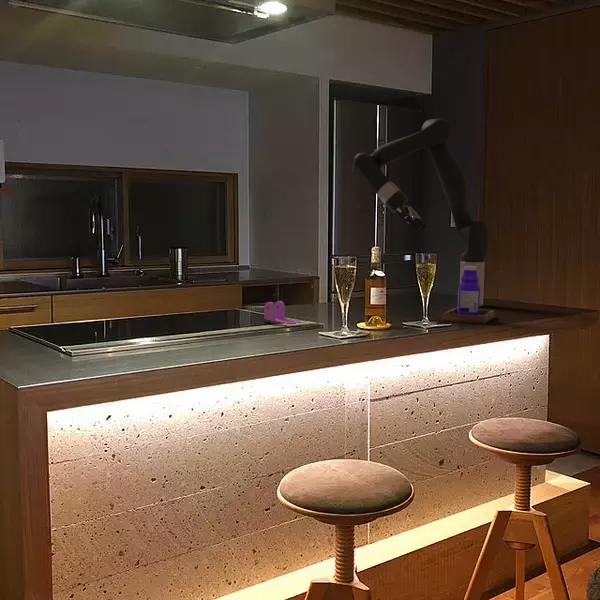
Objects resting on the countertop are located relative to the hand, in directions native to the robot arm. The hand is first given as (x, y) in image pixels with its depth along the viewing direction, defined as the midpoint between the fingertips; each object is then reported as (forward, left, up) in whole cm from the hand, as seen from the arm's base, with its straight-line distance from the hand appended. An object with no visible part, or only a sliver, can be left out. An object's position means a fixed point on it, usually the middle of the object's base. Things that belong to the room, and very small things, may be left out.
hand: (422, 228), depth 281 cm
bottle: (+11, +20, -30) cm, 37 cm away
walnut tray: (+11, +20, -30) cm, 38 cm away
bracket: (+51, -31, -31) cm, 67 cm away
